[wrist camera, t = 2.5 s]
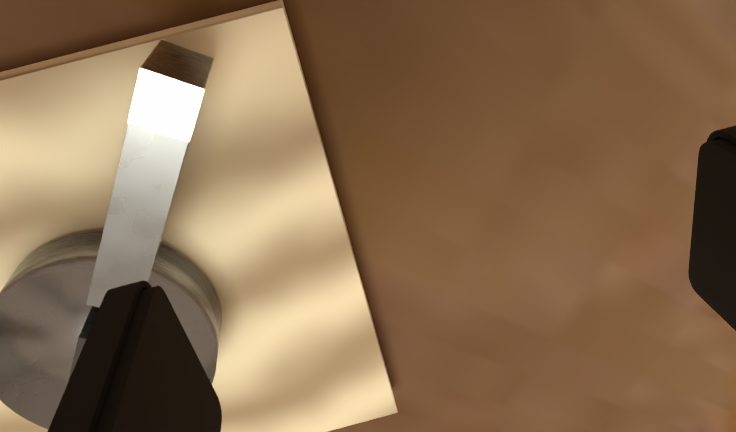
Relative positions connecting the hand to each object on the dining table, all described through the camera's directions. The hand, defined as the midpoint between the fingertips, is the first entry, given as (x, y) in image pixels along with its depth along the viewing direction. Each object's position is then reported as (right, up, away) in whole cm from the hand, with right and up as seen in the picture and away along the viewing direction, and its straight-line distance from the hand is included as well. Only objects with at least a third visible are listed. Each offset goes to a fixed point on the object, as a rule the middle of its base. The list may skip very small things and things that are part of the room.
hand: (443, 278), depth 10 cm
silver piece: (-12, 0, +17) cm, 21 cm away
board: (-14, -3, +21) cm, 25 cm away
